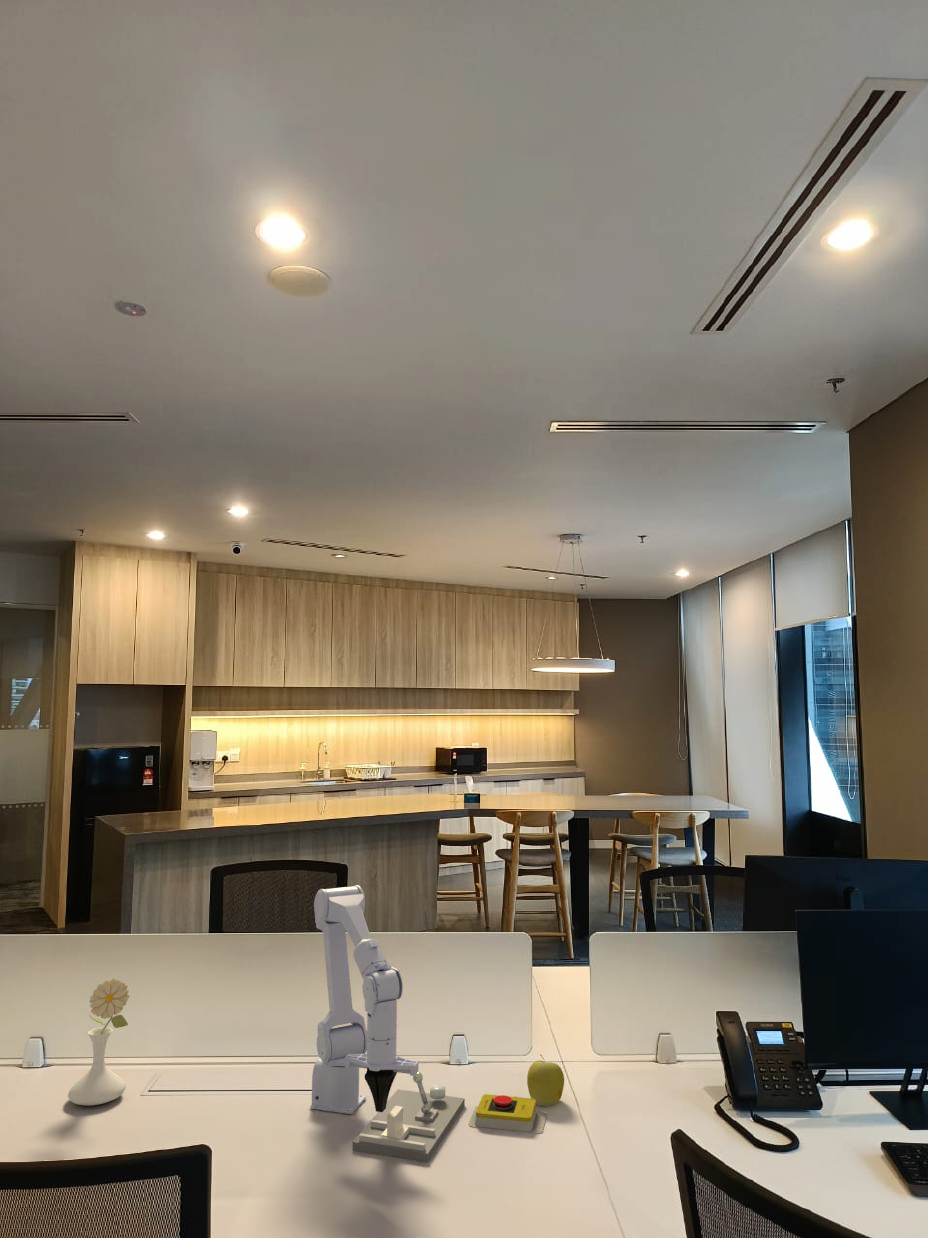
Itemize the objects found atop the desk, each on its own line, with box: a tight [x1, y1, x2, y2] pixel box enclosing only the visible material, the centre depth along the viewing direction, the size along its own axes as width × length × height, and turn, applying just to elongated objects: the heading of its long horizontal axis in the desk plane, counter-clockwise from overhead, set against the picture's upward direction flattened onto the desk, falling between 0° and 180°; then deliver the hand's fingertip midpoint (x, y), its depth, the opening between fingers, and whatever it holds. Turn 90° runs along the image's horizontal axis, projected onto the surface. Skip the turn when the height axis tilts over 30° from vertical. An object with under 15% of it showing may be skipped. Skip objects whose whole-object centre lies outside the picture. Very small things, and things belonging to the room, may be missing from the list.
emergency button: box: [468, 1094, 548, 1135], centre depth 174 cm, size 9×4×15 cm
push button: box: [429, 1084, 446, 1099], centre depth 179 cm, size 3×3×2 cm
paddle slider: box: [381, 1106, 409, 1140], centre depth 164 cm, size 4×4×5 cm
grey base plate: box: [351, 1088, 466, 1163], centre depth 171 cm, size 15×24×2 cm, turn 164°
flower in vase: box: [67, 978, 130, 1106], centre depth 184 cm, size 13×11×25 cm
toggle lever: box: [412, 1071, 433, 1114], centre depth 173 cm, size 2×2×8 cm
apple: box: [526, 1054, 565, 1107], centre depth 183 cm, size 8×8×10 cm
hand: (380, 1110), depth 165 cm, fingers closed
